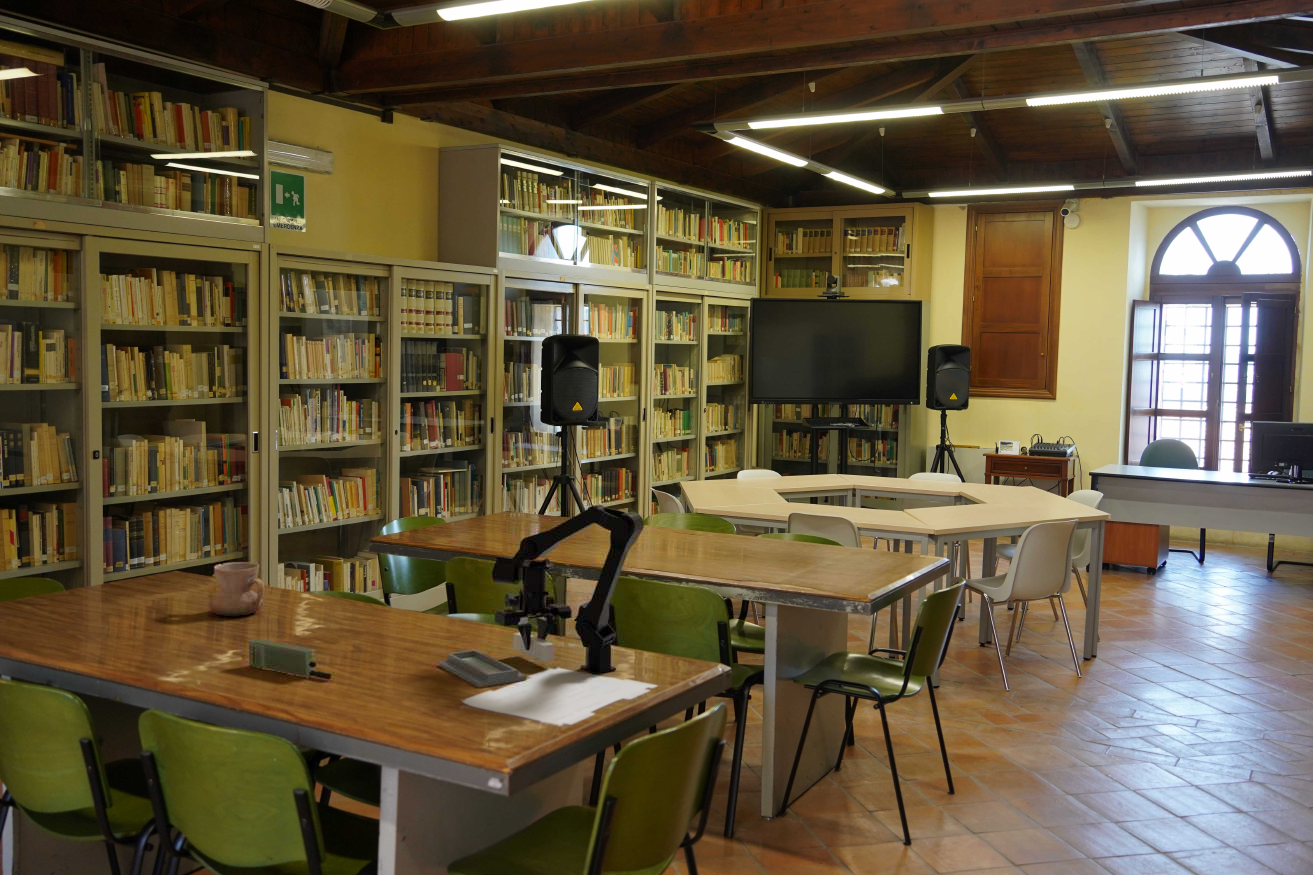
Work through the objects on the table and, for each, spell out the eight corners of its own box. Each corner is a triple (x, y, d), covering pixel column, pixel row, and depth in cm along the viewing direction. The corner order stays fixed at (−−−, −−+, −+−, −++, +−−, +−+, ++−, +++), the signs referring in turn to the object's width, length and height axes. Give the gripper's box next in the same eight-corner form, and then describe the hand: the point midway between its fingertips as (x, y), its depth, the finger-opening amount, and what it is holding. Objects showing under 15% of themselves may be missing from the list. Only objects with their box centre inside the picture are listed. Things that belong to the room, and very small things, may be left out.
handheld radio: (258, 664, 254) (335, 680, 242) (247, 668, 251) (324, 684, 240) (257, 637, 254) (334, 651, 242) (246, 640, 251) (323, 655, 239)
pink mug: (194, 615, 305) (195, 566, 304) (233, 605, 318) (233, 558, 317) (242, 623, 297) (243, 573, 296) (279, 613, 311) (280, 565, 310)
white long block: (553, 660, 255) (554, 644, 255) (543, 662, 254) (543, 645, 254) (524, 647, 268) (524, 631, 267) (513, 648, 266) (513, 633, 266)
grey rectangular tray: (526, 679, 245) (526, 668, 245) (479, 687, 238) (479, 676, 238) (483, 658, 263) (483, 648, 263) (438, 665, 256) (438, 654, 256)
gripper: (551, 577, 272) (550, 637, 273) (484, 584, 261) (484, 646, 262) (573, 584, 263) (572, 646, 264) (505, 591, 252) (505, 656, 253)
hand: (533, 649), depth 261 cm, fingers closed on white long block, 3 cm apart
